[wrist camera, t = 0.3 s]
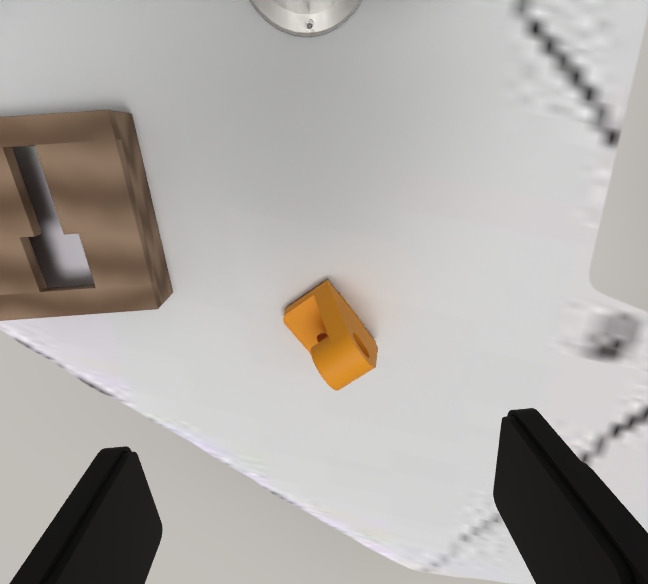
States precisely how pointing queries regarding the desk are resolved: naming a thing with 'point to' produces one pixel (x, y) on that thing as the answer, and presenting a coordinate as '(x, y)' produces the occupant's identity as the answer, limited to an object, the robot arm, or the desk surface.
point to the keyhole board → (81, 216)
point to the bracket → (332, 335)
